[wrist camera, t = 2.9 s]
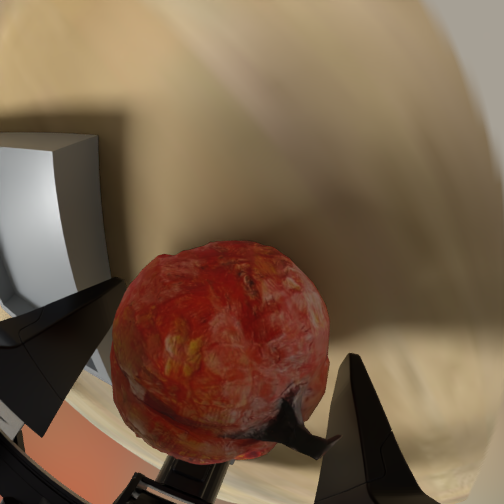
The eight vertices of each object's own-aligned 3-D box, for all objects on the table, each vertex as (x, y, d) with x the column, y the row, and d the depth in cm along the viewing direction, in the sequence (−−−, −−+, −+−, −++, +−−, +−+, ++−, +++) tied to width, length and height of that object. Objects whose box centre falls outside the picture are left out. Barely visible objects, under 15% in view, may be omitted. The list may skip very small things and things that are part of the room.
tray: (131, 360, 18) (113, 386, 16) (18, 292, 20) (2, 308, 18) (98, 135, 10) (52, 151, 8) (-20, 133, 12) (-46, 144, 10)
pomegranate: (225, 322, 16) (361, 441, 9) (103, 365, 12) (208, 548, 5) (226, 193, 13) (445, 293, 6) (62, 223, 9) (155, 509, 2)
